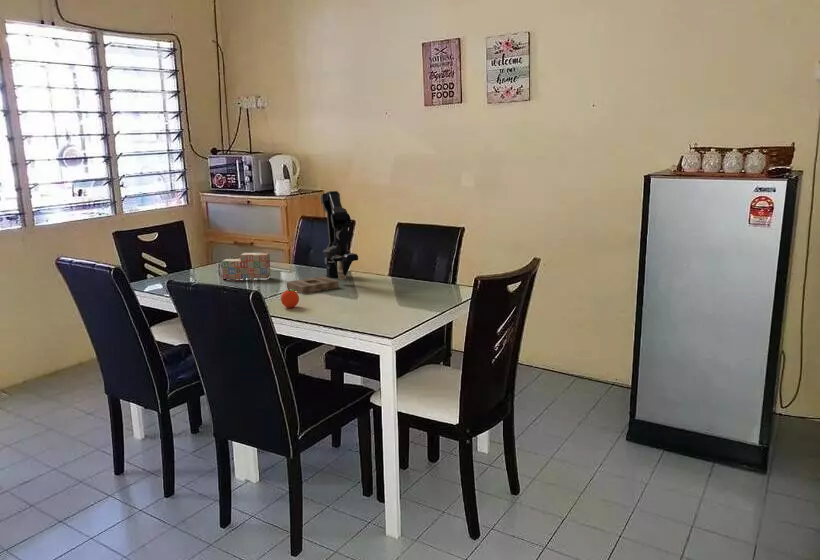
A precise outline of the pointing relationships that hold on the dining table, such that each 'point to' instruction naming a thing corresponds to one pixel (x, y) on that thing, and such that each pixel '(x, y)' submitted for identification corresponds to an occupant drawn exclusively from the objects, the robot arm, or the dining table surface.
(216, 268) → the dining table surface
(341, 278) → the peg
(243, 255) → the stack of blocks
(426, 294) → the dining table surface
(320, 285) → the board
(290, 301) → the clementine
